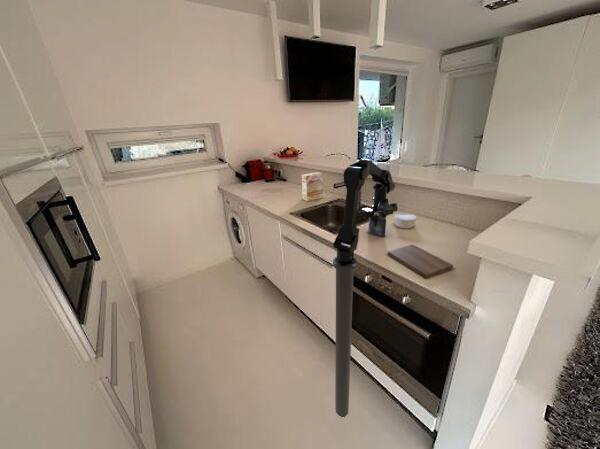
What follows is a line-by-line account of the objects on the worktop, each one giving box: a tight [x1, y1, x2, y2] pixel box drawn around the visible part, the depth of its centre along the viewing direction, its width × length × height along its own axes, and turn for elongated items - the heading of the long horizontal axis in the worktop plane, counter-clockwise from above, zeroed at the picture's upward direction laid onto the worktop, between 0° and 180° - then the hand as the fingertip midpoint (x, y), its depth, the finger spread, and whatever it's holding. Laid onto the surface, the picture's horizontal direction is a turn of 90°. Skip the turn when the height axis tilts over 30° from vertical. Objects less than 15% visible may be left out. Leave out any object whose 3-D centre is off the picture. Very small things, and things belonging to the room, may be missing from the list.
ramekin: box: [393, 212, 417, 229], centre depth 134 cm, size 11×11×5 cm
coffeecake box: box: [301, 171, 324, 202], centre depth 189 cm, size 15×7×20 cm, turn 120°
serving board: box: [387, 244, 454, 279], centre depth 100 cm, size 14×20×2 cm
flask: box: [367, 213, 387, 237], centre depth 125 cm, size 9×3×11 cm, turn 45°
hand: (377, 225), depth 125 cm, fingers closed on flask, 3 cm apart
